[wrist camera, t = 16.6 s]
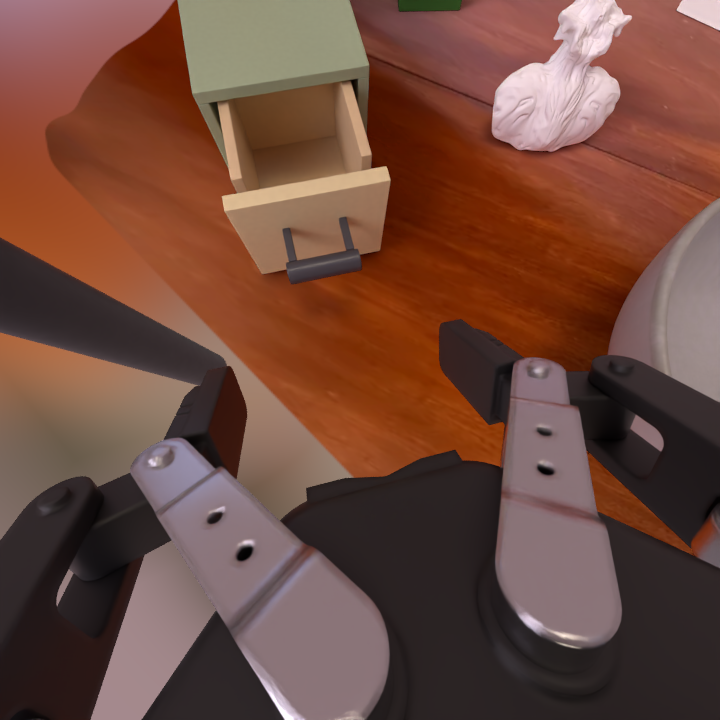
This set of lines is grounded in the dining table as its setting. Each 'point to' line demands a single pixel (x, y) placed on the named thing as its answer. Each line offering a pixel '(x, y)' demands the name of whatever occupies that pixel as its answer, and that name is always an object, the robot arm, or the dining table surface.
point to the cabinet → (269, 50)
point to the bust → (562, 84)
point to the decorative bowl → (677, 313)
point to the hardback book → (428, 5)
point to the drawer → (303, 180)
